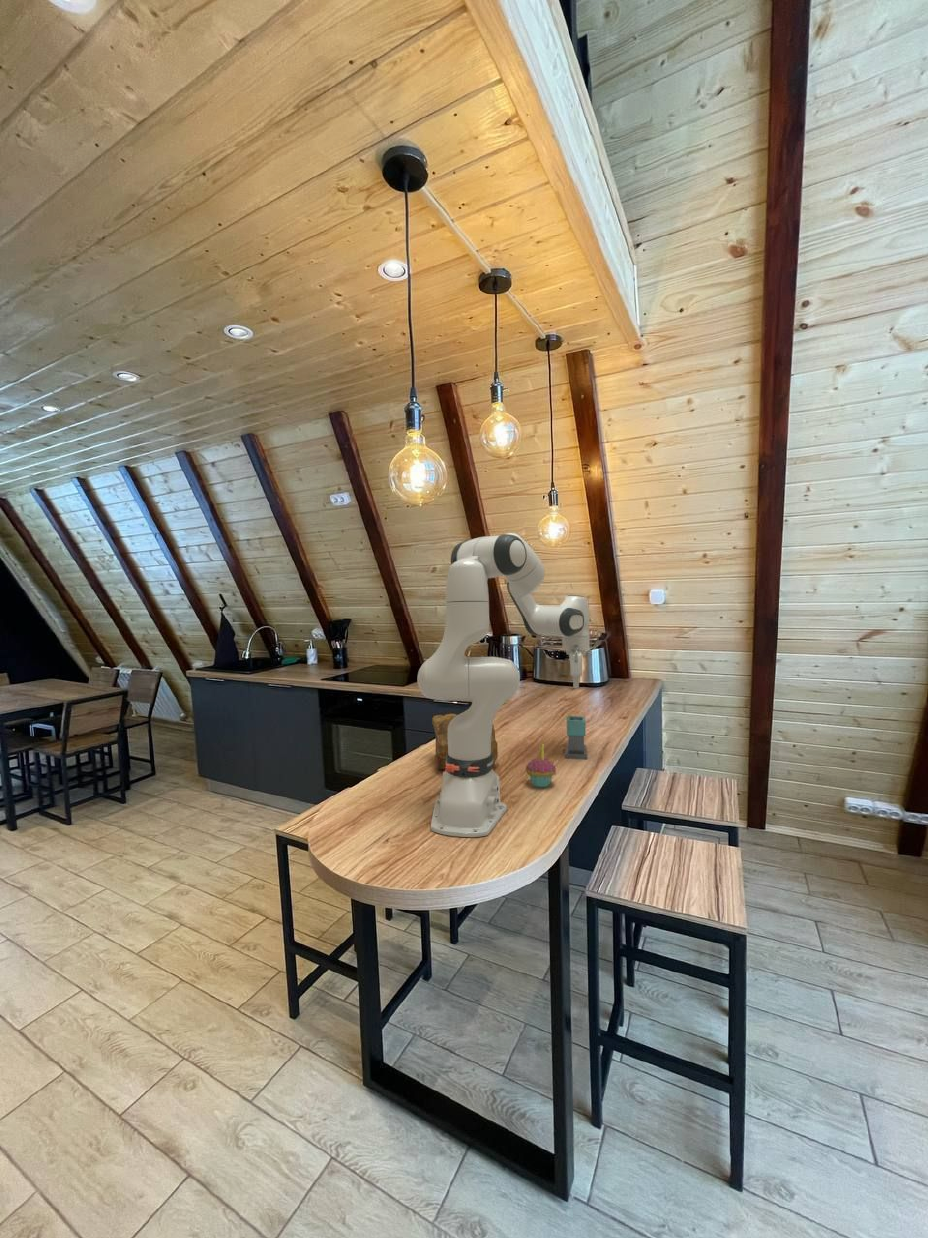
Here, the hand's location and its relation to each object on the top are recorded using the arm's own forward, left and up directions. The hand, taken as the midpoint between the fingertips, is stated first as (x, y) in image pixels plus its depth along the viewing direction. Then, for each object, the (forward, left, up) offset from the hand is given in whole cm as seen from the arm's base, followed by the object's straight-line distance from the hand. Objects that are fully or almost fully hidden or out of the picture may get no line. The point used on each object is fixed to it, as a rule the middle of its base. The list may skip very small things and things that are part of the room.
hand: (575, 684), depth 164 cm
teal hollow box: (0, 0, -16) cm, 16 cm away
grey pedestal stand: (+1, 0, -23) cm, 23 cm away
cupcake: (-28, +10, -24) cm, 38 cm away
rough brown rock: (-18, +37, -24) cm, 47 cm away
